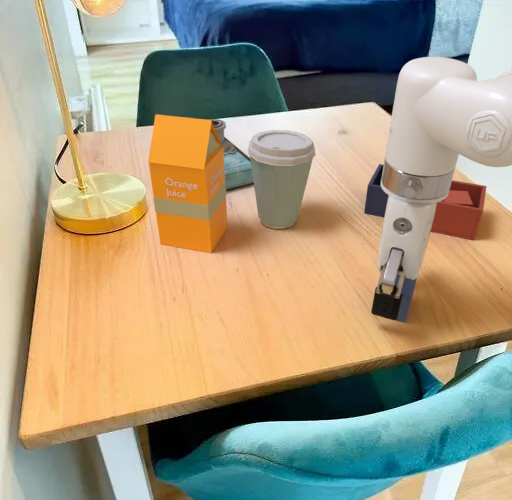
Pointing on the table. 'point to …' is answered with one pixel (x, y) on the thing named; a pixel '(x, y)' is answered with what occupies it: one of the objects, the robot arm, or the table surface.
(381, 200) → the blue bin
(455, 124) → the robot arm
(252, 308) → the table surface
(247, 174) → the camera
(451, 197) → the red block
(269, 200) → the disposable coffee cup
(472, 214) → the red bin
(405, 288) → the blue block
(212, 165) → the orange juice
